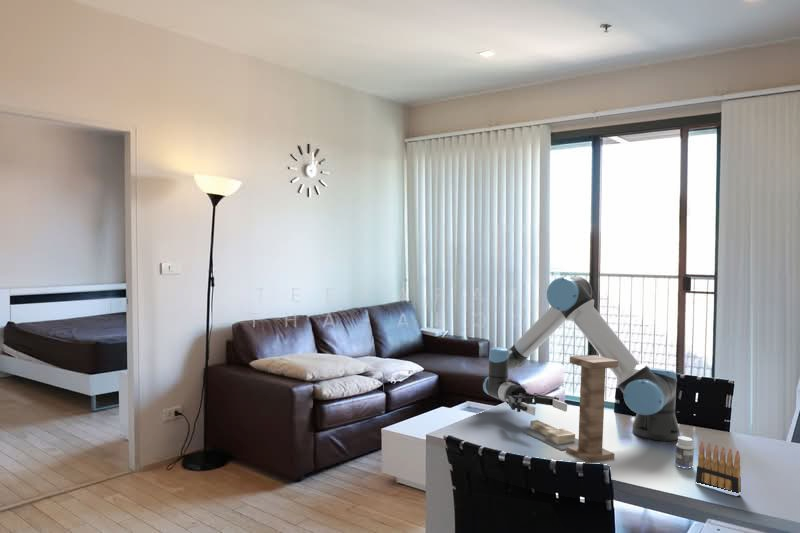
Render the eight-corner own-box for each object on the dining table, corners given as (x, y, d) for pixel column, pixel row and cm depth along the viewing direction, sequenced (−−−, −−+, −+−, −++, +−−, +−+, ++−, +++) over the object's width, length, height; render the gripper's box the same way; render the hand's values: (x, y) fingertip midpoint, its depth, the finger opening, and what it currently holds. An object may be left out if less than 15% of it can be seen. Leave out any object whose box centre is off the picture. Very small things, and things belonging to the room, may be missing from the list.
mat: (522, 431, 198) (522, 430, 198) (549, 428, 203) (550, 426, 203) (561, 450, 180) (561, 449, 180) (590, 446, 185) (590, 445, 185)
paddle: (525, 428, 200) (525, 421, 200) (541, 426, 203) (541, 419, 203) (558, 444, 185) (558, 436, 185) (574, 441, 188) (575, 434, 188)
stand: (566, 451, 179) (569, 356, 178) (590, 447, 183) (594, 354, 182) (589, 462, 170) (593, 362, 169) (614, 458, 174) (618, 360, 173)
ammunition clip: (740, 496, 149) (743, 450, 149) (738, 497, 148) (740, 452, 148) (698, 482, 157) (699, 439, 157) (695, 484, 156) (697, 440, 156)
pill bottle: (672, 462, 172) (673, 435, 172) (688, 463, 172) (689, 435, 171) (679, 468, 167) (680, 440, 167) (695, 469, 167) (697, 441, 167)
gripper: (539, 401, 218) (578, 416, 199) (484, 407, 208) (520, 424, 188) (539, 382, 218) (579, 395, 199) (485, 386, 207) (520, 401, 188)
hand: (550, 409), depth 194 cm, fingers open, 13 cm apart
